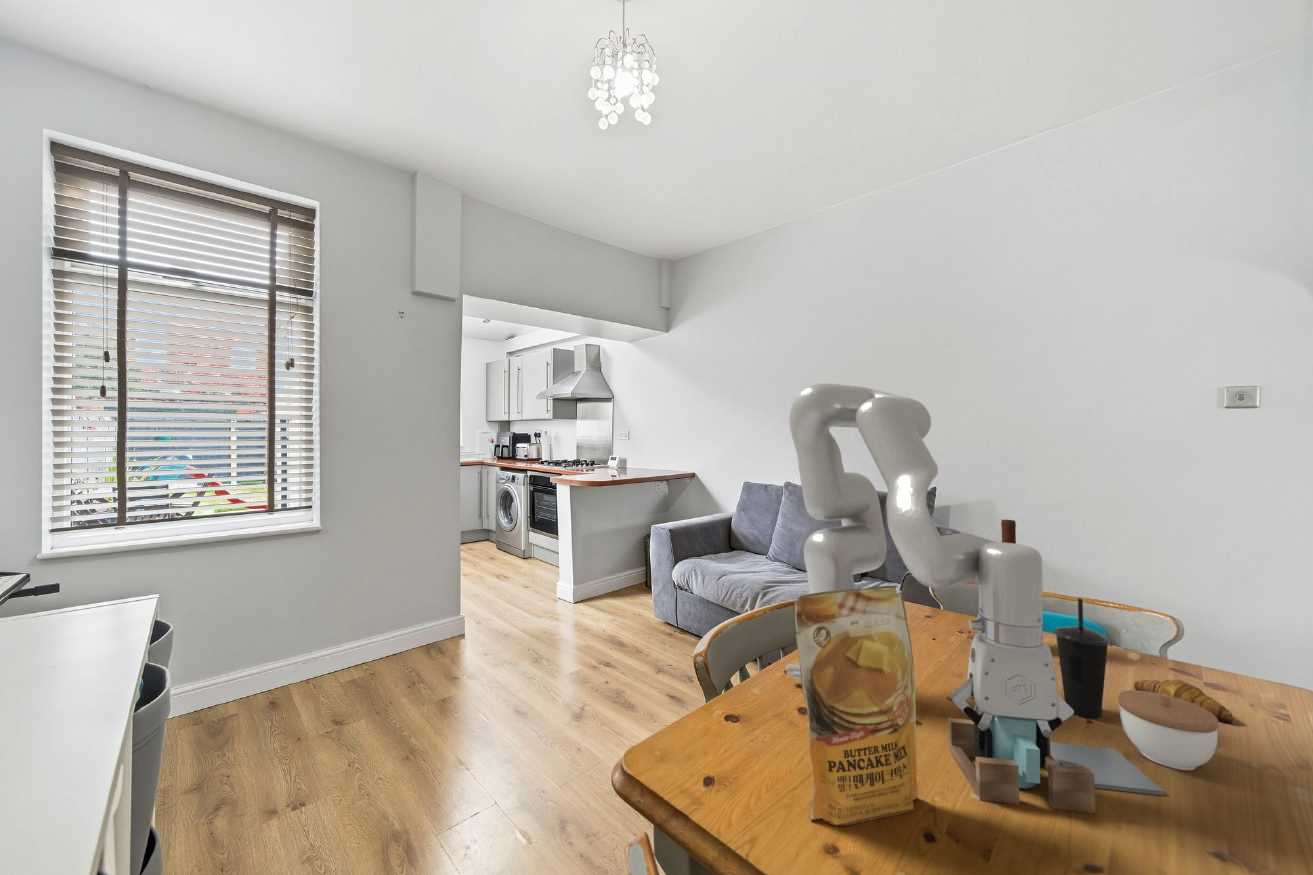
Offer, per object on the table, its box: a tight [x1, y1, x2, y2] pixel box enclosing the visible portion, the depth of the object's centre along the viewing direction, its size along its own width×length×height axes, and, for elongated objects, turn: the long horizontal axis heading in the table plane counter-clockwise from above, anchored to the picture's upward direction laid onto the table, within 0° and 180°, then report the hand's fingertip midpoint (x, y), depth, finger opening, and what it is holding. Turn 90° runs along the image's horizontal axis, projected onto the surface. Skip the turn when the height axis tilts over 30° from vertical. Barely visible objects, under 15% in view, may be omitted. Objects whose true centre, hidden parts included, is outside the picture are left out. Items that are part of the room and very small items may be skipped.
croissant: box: [1133, 679, 1234, 724], centre depth 92 cm, size 14×7×5 cm, turn 20°
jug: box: [988, 715, 1041, 789], centre depth 71 cm, size 6×9×11 cm, turn 168°
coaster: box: [1050, 741, 1165, 797], centre depth 74 cm, size 10×10×1 cm
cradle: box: [947, 717, 1096, 814], centre depth 72 cm, size 13×11×5 cm
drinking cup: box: [1053, 598, 1111, 720], centre depth 91 cm, size 8×8×20 cm
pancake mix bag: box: [792, 585, 920, 827], centre depth 67 cm, size 7×19×28 cm, turn 104°
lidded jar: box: [1117, 689, 1219, 772], centre depth 77 cm, size 11×11×9 cm
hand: (1010, 755), depth 73 cm, fingers closed on jug, 6 cm apart
